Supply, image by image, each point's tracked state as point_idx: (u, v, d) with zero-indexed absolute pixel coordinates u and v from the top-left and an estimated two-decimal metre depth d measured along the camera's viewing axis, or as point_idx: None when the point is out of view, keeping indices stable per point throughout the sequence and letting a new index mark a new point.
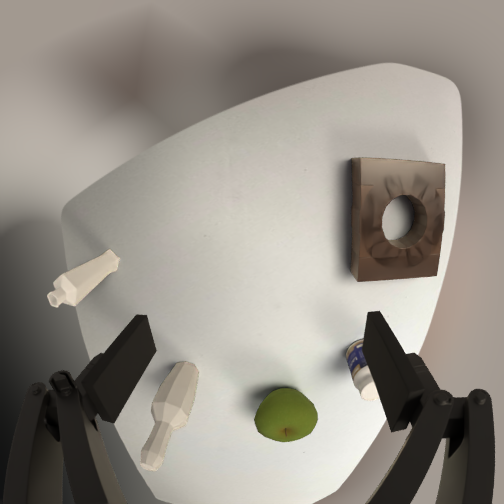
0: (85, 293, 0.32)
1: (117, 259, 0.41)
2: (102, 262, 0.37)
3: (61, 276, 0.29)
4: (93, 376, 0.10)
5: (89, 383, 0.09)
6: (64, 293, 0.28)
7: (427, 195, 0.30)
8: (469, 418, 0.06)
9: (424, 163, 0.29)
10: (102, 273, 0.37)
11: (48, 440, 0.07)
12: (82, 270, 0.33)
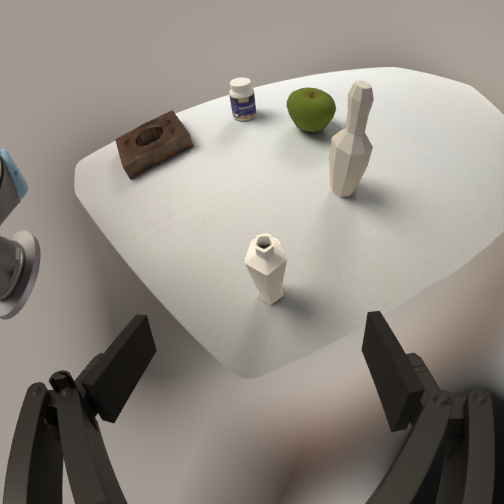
0: None
1: None
2: None
3: (247, 262, 0.30)
4: (93, 376, 0.10)
5: (89, 383, 0.09)
6: (258, 244, 0.30)
7: (132, 136, 0.57)
8: (469, 418, 0.06)
9: (117, 145, 0.56)
10: None
11: (48, 440, 0.07)
12: None
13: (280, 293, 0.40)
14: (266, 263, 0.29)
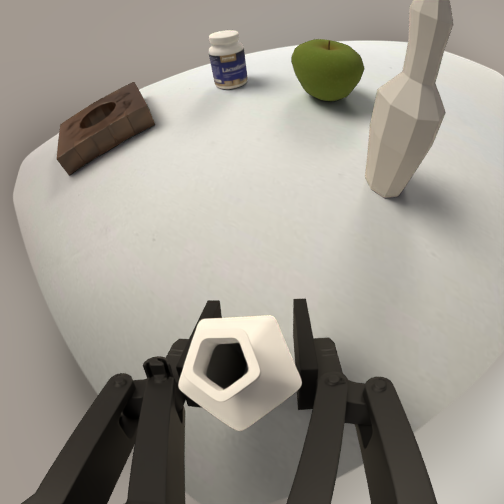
0: None
1: None
2: None
3: (185, 388, 0.09)
4: None
5: None
6: (213, 345, 0.09)
7: (79, 117, 0.37)
8: (372, 409, 0.08)
9: (60, 131, 0.36)
10: None
11: (117, 437, 0.08)
12: None
13: None
14: (237, 404, 0.08)
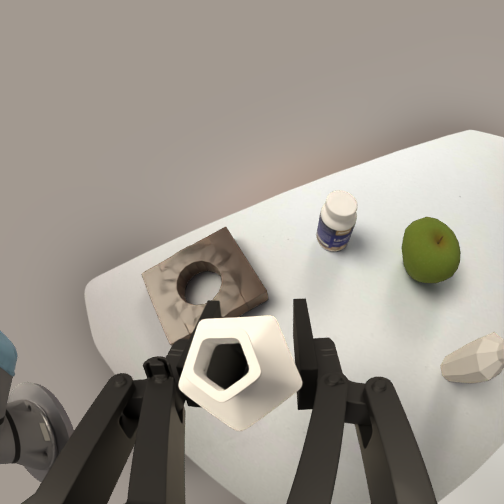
0: None
1: None
2: None
3: (185, 388, 0.09)
4: None
5: None
6: (213, 345, 0.09)
7: (170, 275, 0.42)
8: (372, 409, 0.08)
9: (149, 291, 0.41)
10: None
11: (117, 437, 0.08)
12: None
13: None
14: (237, 404, 0.08)
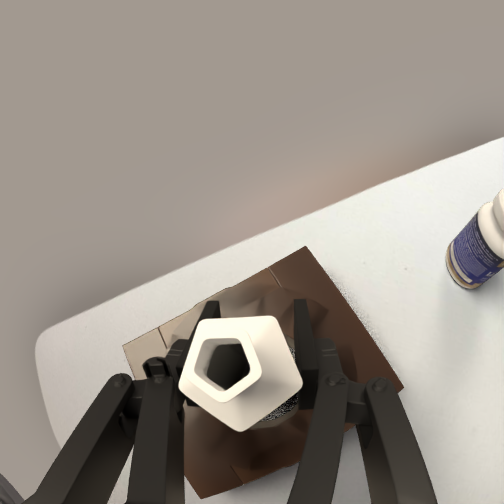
0: None
1: None
2: None
3: (185, 389, 0.09)
4: None
5: None
6: (214, 345, 0.09)
7: None
8: (373, 409, 0.08)
9: None
10: None
11: (117, 437, 0.08)
12: None
13: None
14: (238, 405, 0.08)
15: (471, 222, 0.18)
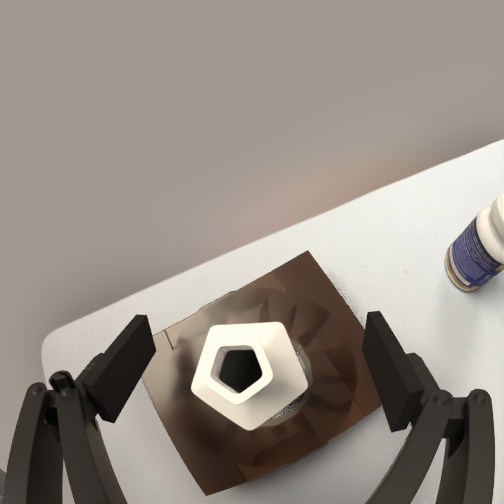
0: None
1: (251, 361, 0.21)
2: None
3: (198, 391, 0.10)
4: (93, 376, 0.10)
5: (89, 383, 0.09)
6: (226, 350, 0.09)
7: (193, 359, 0.18)
8: (469, 418, 0.06)
9: (148, 388, 0.17)
10: (255, 354, 0.17)
11: (48, 440, 0.07)
12: None
13: None
14: (248, 405, 0.09)
15: (470, 226, 0.19)
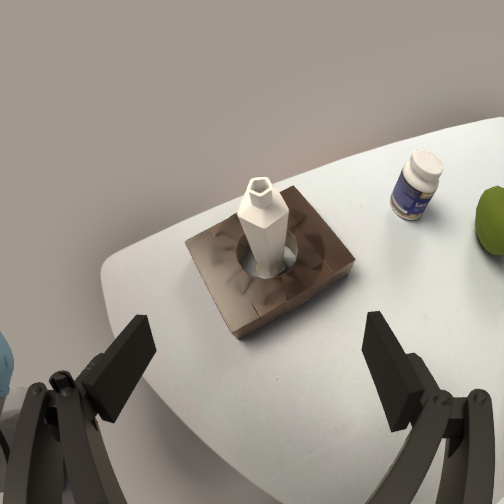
0: None
1: None
2: None
3: (240, 214, 0.24)
4: (93, 376, 0.10)
5: (89, 383, 0.09)
6: None
7: (226, 242, 0.33)
8: (469, 418, 0.06)
9: (197, 263, 0.32)
10: None
11: (48, 440, 0.07)
12: None
13: (282, 265, 0.34)
14: (263, 214, 0.24)
15: None
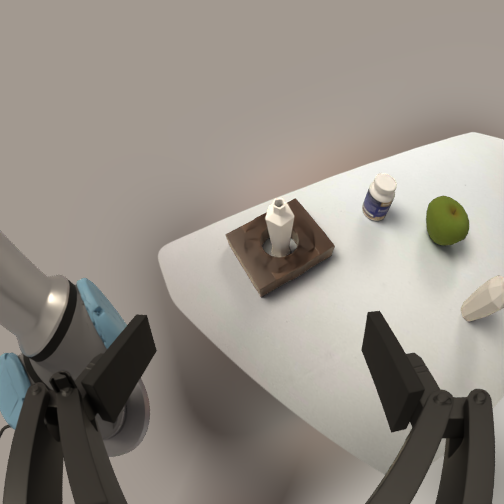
0: None
1: None
2: None
3: (267, 218, 0.43)
4: (93, 376, 0.10)
5: (89, 383, 0.09)
6: (275, 206, 0.43)
7: (253, 235, 0.52)
8: (469, 418, 0.06)
9: (235, 248, 0.51)
10: None
11: (48, 440, 0.07)
12: None
13: (288, 250, 0.53)
14: (280, 218, 0.43)
15: (368, 189, 0.53)
